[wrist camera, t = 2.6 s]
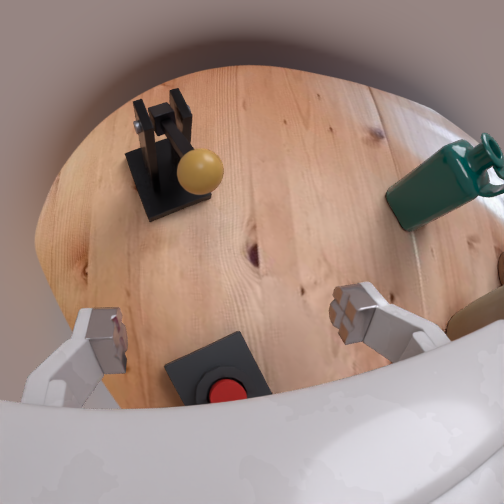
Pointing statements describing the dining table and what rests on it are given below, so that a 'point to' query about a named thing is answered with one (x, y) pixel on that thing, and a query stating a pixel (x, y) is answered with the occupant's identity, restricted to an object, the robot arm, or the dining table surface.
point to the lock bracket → (160, 162)
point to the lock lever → (187, 154)
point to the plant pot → (477, 314)
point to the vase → (501, 268)
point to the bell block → (216, 370)
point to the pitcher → (446, 182)
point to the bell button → (226, 391)
